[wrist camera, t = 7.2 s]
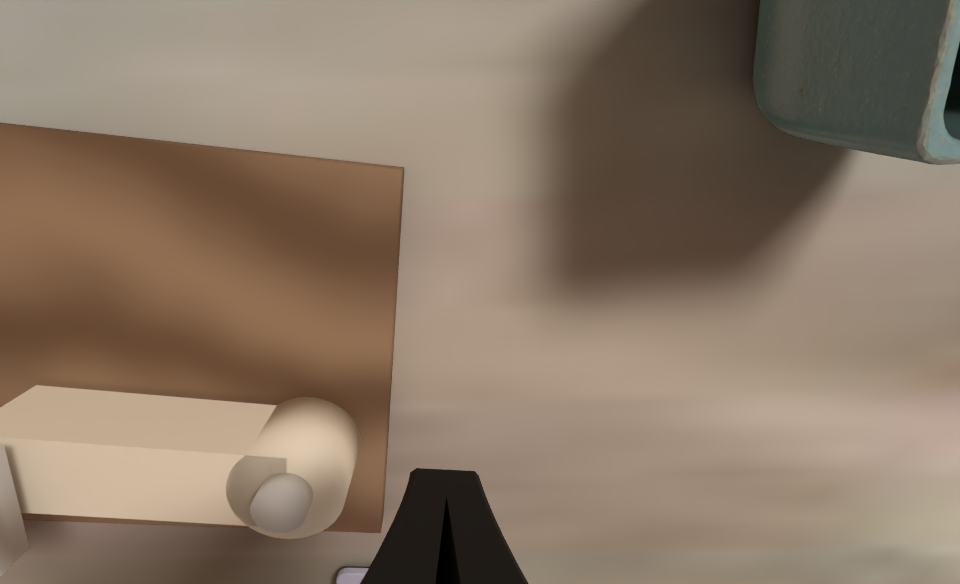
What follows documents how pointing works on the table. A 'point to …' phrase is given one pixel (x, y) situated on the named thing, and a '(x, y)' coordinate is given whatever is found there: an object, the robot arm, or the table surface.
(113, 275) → the hinge board
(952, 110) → the flower pot
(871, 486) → the table surface
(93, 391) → the link
